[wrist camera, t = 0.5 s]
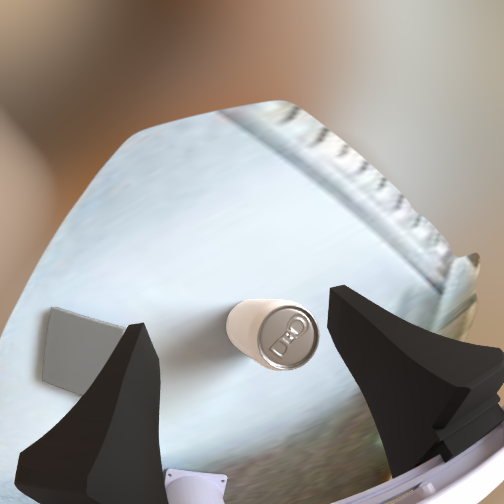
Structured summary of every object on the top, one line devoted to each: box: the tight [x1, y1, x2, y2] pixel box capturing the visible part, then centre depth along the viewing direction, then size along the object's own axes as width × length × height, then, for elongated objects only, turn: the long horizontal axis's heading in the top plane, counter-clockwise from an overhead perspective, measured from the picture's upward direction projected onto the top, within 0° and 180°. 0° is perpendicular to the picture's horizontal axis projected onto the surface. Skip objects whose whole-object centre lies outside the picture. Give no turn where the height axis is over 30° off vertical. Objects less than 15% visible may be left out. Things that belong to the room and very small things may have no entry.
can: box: [226, 299, 319, 371], centre depth 30 cm, size 6×6×12 cm
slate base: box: [42, 307, 126, 395], centre depth 29 cm, size 9×9×2 cm
